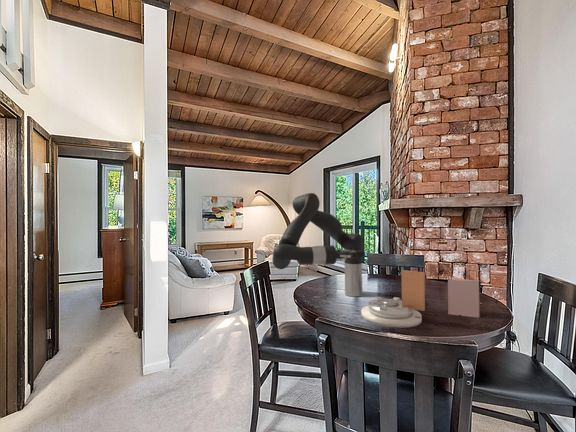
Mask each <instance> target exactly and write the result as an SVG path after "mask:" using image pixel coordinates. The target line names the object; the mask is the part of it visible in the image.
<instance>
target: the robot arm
mask: <svg viewBox="0 0 576 432" xmlns="http://www.w3.org/2000/svg"><path fill="white" fill-rule="evenodd" d="M320 204H321V203H320V198H319V197H318V195H317V194H316V193H313V192H310V193H309V192H307V193H305V194H301V195H299V196H298V195H297V196H296V197H295V198H294V199H293V200H292V208H293V210H294V212H295V213H296V214H297V216H296V217H295V218H294V219H293V220H292V221H291V222H290V223H289V224H288V226H287V227H286V228H285V230H284V232H283V234H282V236H281V239H280V243H279V245H277V246H275V247H274V249H273V252H272V264H273V266H274V267H275V268H276V269H278V270H284V269H287V268H288V266H290V263H291V261H296V262H297V264H298V265H300V266H307V265H309V266H311V265H316V266H324V265H335V264H336V262H337V260H340V261H344V295H345V296H349V297H361V296H362V295H363V294H364V293H363V258H364V257H365V256H366V255H365V254H366V252H365V250H364V239H363V235H361V234H359V233H347V232H345V231H344V230H343V226H342V223H341V221H340V220H339V219H338V218H336V216H334V215H333V214H331V213H328V212H326V211H322V210H319V208H320ZM309 223H312V224H313V225H314V226H316V227H317V228H319V229H320V230H321V231H322V232H324V233H325V234H327V235H328V236H329V237H331V238H332V239H334V241H335V242H336V243H338V244H339V246H340V247H341V248H342V249H341V248H338V249H336V247H335V245H332V244H331V245H315V246H303V247H302V246H298V244H299V242H300V240H301V237H302V235H303V233H304V231H305V230H306V228H307V226H308V225H309Z"/></svg>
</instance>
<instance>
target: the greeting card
mask: <svg viewBox="0 0 576 432" xmlns="http://www.w3.org/2000/svg"><path fill="white" fill-rule="evenodd" d="M447 296H448V297H447V298H448V299H447V301H448V303H447V306H448V307H447V308H448V309H447V310H448V312H447V313H448V315H450V314H451V315H453V316H459V315H461V316H462V317H468V318H470V317H471V318H477V319H478V318H480V281H477V280H471V279H465V278H460V277H455V276H454V277H453V276H451V279H447ZM451 315H450V316H451Z"/></svg>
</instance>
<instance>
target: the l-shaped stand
mask: <svg viewBox="0 0 576 432" xmlns="http://www.w3.org/2000/svg"><path fill="white" fill-rule="evenodd" d="M425 275H426V274H425V272H424V271H417V270H416V271H415V270H405V269H402V270H401V297H397V296H394V297H393V298H383V297H381V296H374V298H373V299H372V300H368V301H367V304H368V305H367V306H368V310H369V312H370V313H371V314H373V315H376V316H379V317H383V318H389V319H405V318H410V317H412V316H413V315H414V310H416V311H420V312H421V311H422V312H425V311H426V288H425V287H426V285H425V284H426V283H425V281H426V279H425Z"/></svg>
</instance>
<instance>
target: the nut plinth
mask: <svg viewBox="0 0 576 432" xmlns="http://www.w3.org/2000/svg"><path fill="white" fill-rule="evenodd" d="M360 310H361V311H360V312H361V313H360V315H361V318H362V319H363V320H365V321H366V322H368V323H371V324H374V325H377V326H381V327H387V328H393V329H394V328H395V329H396V328H399V329H400V328H401V329H402V328H412V327H417V326H418V325H420V324H422V322H423V321H422V314H421V313H420V312H419V310H415V309H414V315H413V316H412V317H410V318H405V319H389V318H383V317H379V316H376V315H373V314H371V313H370V312H369V310H368V305H365V306H363V307H362V308H361V309H360Z"/></svg>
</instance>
